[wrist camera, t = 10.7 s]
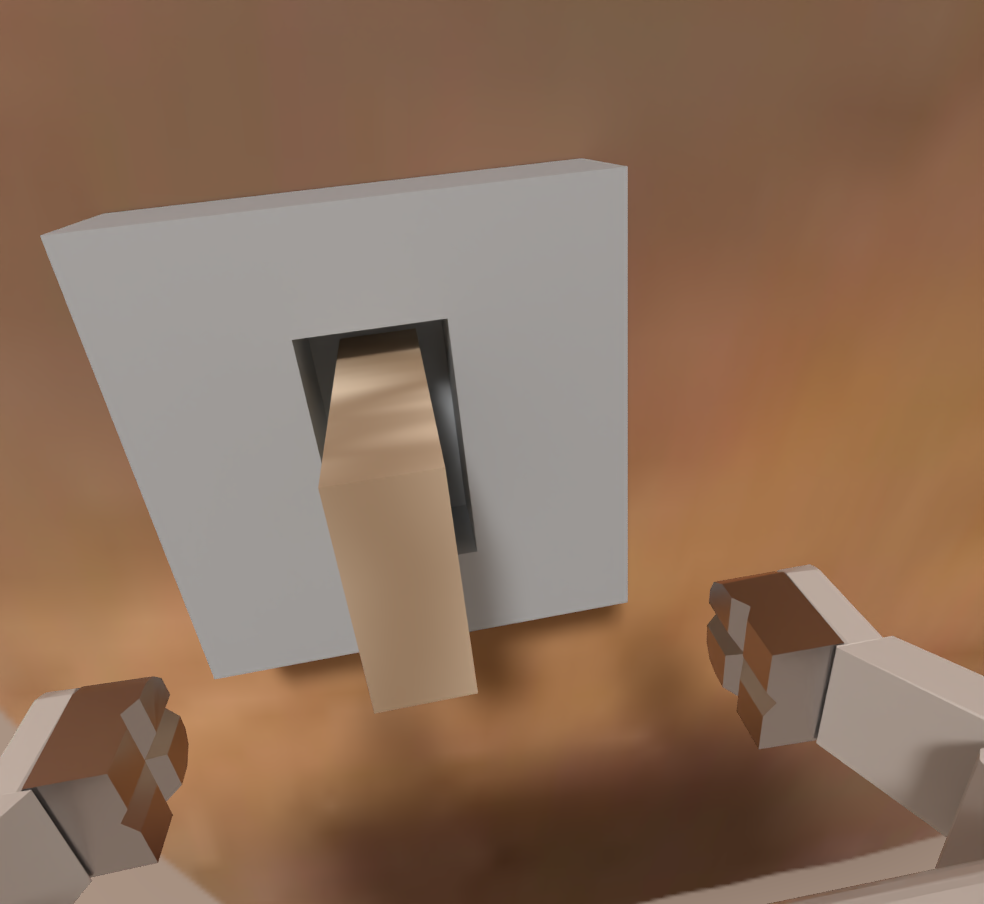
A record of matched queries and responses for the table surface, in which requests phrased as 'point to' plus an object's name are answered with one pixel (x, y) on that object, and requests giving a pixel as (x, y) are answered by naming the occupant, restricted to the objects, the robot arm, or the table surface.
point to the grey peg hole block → (310, 375)
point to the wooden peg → (394, 525)
